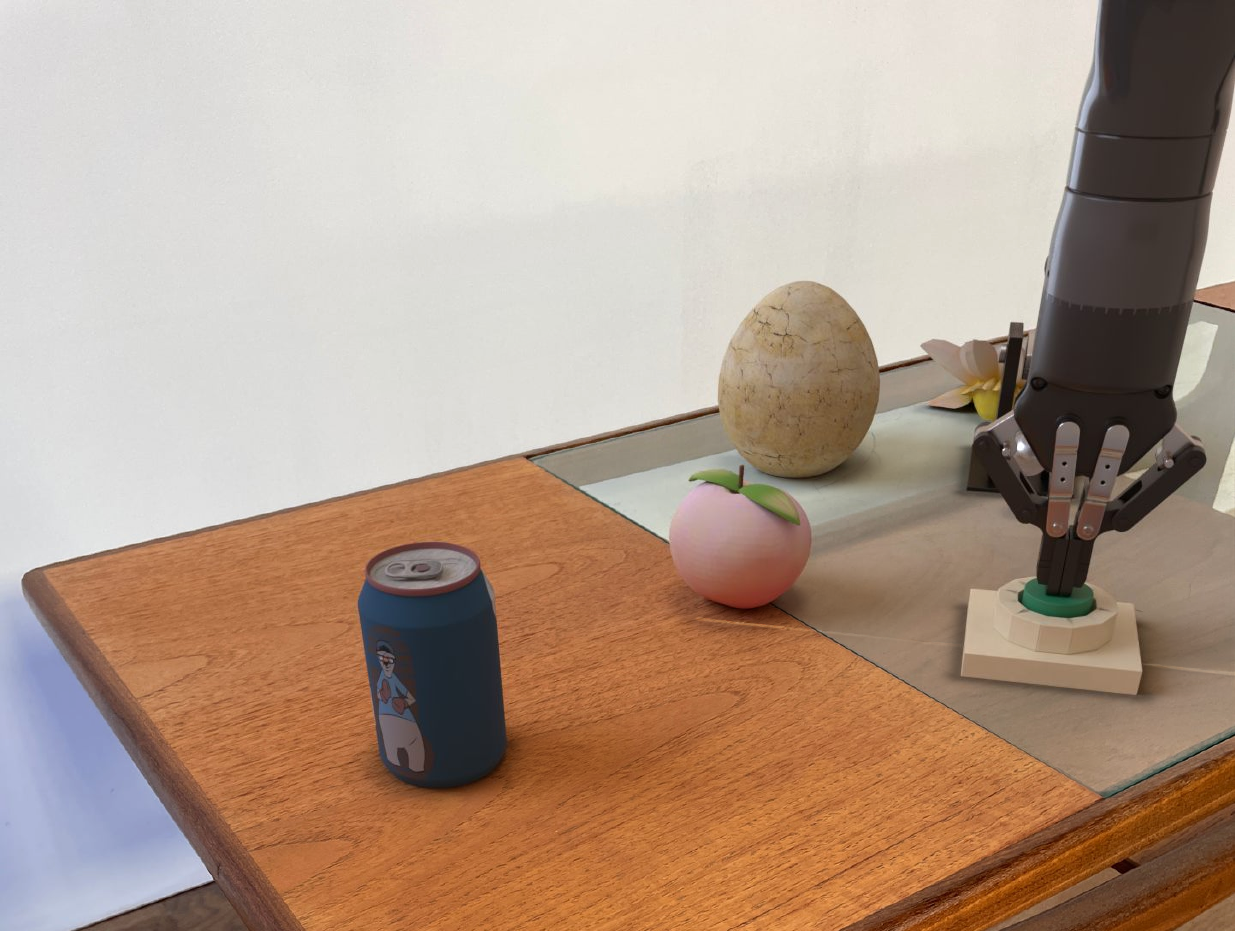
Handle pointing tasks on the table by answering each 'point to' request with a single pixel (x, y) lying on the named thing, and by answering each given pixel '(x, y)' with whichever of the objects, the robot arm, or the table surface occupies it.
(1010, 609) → the button block
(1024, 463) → the tap lever
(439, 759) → the soda can
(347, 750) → the table surface
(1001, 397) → the black metal frame
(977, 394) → the decorative flower
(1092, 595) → the green push button
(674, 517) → the decorative fruit
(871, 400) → the fossilized egg
